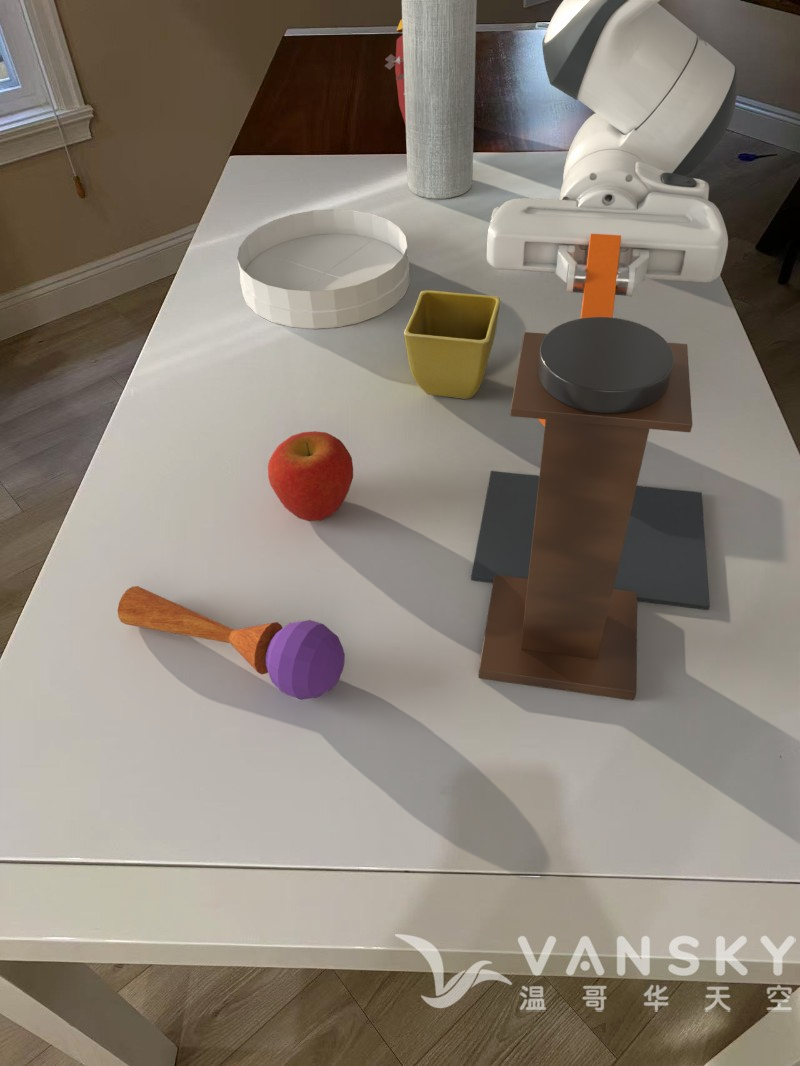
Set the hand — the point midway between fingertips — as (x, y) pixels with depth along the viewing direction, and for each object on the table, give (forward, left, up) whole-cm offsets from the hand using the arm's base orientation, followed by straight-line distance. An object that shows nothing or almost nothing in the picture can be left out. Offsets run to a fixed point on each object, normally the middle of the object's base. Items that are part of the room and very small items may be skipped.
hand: (600, 286), depth 68 cm
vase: (+24, -63, -20) cm, 70 cm away
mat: (-2, +9, -20) cm, 22 cm away
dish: (+34, -32, -20) cm, 51 cm away
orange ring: (0, +3, -3) cm, 5 cm away
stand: (0, +21, -20) cm, 29 cm away
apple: (+24, +9, -20) cm, 33 cm away
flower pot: (+14, -12, -20) cm, 27 cm away
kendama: (+26, +27, -20) cm, 43 cm away
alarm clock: (+32, -86, -20) cm, 94 cm away
